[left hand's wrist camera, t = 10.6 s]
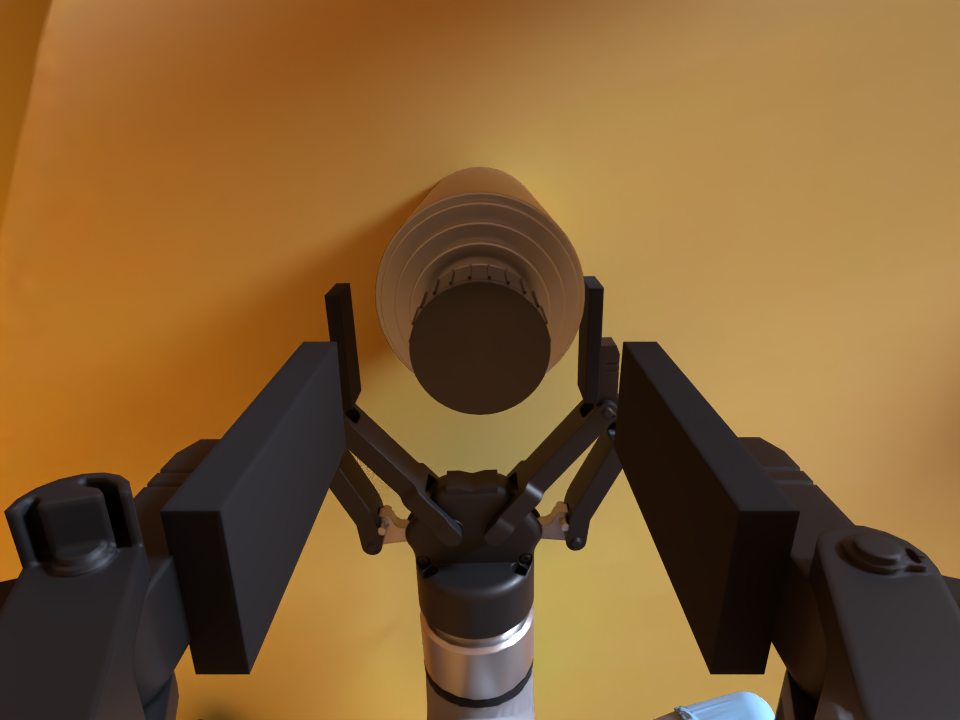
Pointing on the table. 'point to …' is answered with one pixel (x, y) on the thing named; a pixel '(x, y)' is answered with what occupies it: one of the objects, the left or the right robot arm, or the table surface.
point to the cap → (479, 340)
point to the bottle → (479, 254)
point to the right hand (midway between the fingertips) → (464, 284)
